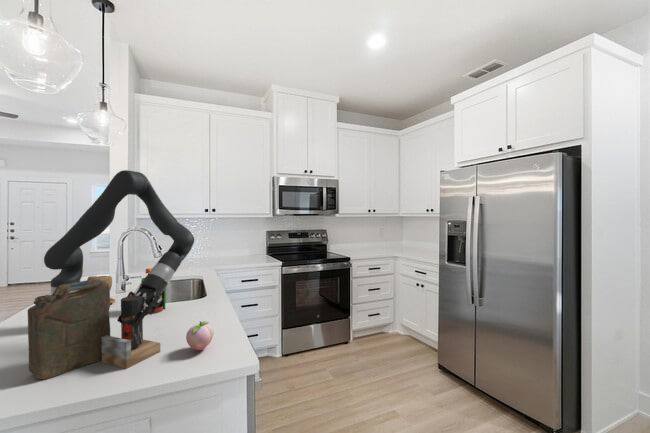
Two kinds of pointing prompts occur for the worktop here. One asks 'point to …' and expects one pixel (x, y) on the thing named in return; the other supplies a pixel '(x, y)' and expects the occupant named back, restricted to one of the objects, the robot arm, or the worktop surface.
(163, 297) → the motor
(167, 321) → the worktop surface
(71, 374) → the worktop surface
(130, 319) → the deodorant
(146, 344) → the step
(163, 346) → the worktop surface
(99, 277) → the stone cup
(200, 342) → the decorative fruit
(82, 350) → the canister
